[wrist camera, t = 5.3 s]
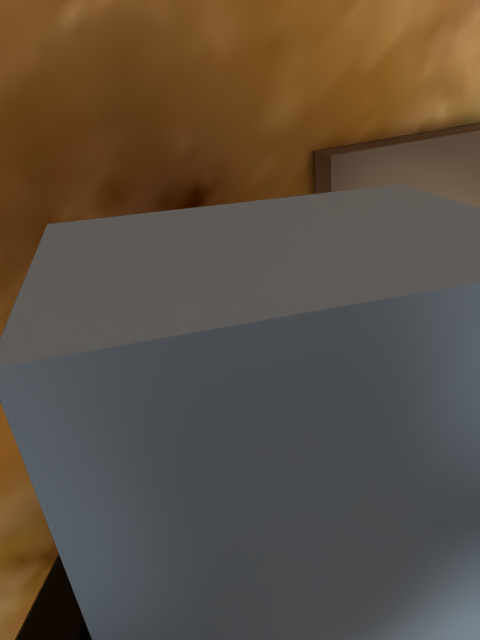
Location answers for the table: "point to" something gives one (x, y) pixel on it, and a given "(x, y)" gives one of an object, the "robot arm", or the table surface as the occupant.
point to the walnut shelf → (407, 164)
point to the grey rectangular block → (258, 416)
